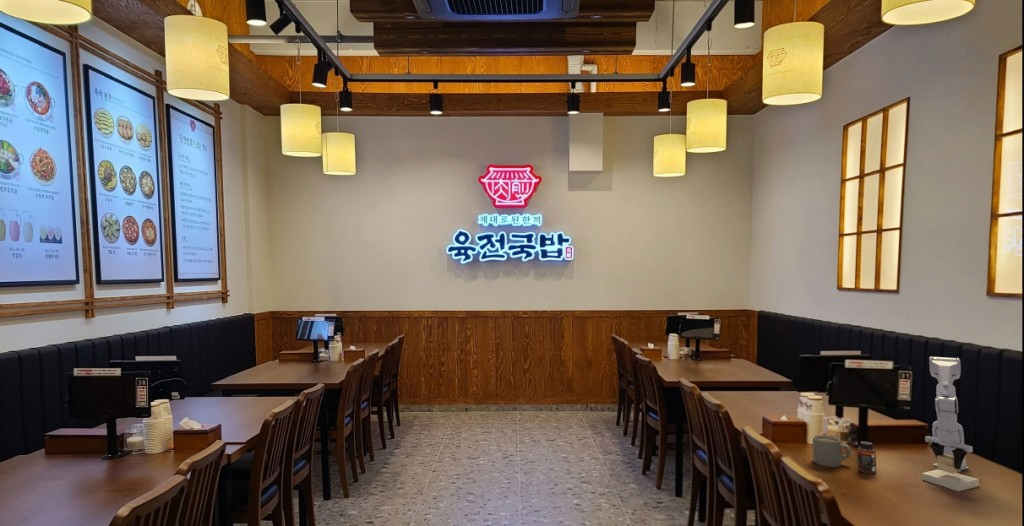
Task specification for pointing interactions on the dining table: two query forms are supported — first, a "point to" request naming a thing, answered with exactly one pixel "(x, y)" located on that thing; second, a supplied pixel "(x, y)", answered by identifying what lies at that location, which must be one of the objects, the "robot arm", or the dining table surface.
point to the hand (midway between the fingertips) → (949, 466)
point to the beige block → (950, 480)
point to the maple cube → (946, 463)
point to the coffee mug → (829, 451)
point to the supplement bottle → (866, 458)
